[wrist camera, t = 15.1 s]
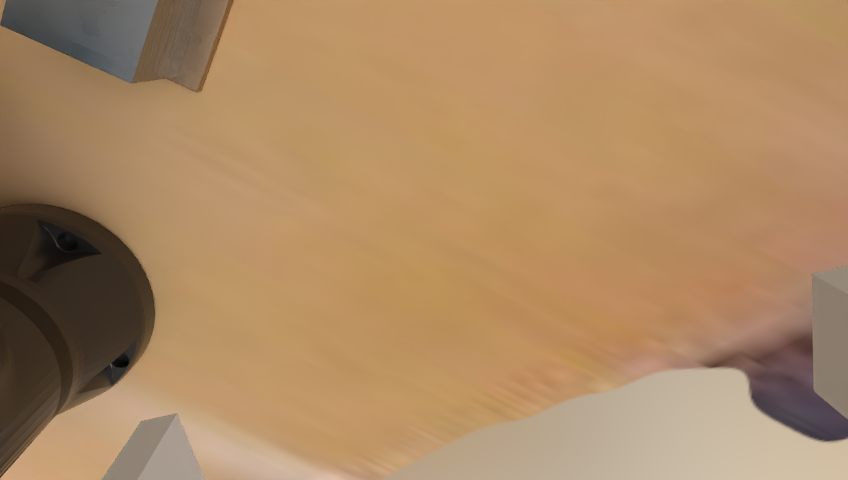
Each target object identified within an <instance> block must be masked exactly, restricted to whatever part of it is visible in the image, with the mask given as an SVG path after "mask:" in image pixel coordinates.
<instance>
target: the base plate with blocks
mask: <svg viewBox="0 0 848 480" xmlns="http://www.w3.org/2000/svg"><path fill="white" fill-rule="evenodd" d="M232 3H233V0H6V3H5V7H4V11H3V15H2V19H1V23H0V25H1V26H3V27H6V28H8V29H10V30H12V31H15V32H17V33H19V34H21V35H24V36H26V37H28V38H30V39H33V40H35V41H37V42H39V43H42V44H44V45H46V46H48V47H51V48H53V49H55V50H57V51H60V52H62V53H64V54H66V55H69V56H71V57H73V58H75V59H77V60H80V61H82V62H84V63H86V64H89V65H91V66H93V67H95V68H98V69H100V70H102V71H104V72H107V73H109V74H111V75H113V76H116V77H118V78H120V79H122V80H125V81H127V82H129V83H131V84H132V83H138V82H145V81H151V80H157V79H164V78H166V79H169V80H171V81H173V82H175V83H178V84H180V85H182V86H184V87H186V88H189V89H191V90H193V91H195V92H199V91H202V88H203V85H204V82H205V79H206V77H207V74H208V71H209V68H210V65H211V62H212V60H213V57H214V54H215V51H216V48H217V45H218V43H219V40H220V37H221V34H222V31H223V29H224V26H225V23H226V20H227V17H228V14H229V12H230V9H231V6H232Z"/></svg>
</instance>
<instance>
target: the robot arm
mask: <svg viewBox="0 0 848 480" xmlns="http://www.w3.org/2000/svg"><path fill="white" fill-rule="evenodd" d="M812 313H813V372H814V391H815V392H816V393H817V394H818V395H819V396H821V397H822V398H823V399H824V400H825V401H826V402H828V403H829V404H830V405H831V406H832V407H834V408H835V409H836V410H837V411H838V412H840V413H841V414H842V415H843V416H844V417H846V418H847V419H848V266H845V267H841V268H836V269H832V270H827V271H822V272H818V273H813V274H812ZM154 317H155V308H154V300H153V295H152V291H151V287H150V284H149V282H148V279H147V277H146V275H145V273H144V271H143V269H142V267H141V265H140V264H139V262H138V261H137V259H136V258H135V256H134V255H133V254H132V253H131V251H130V250H129V249H128V248H127V247H126V246H125V245H124V244H123V243H122V242H121V241H120V240H119V239H118V238H117V237H116V236H115V235H113V234H112V233H111V232H110V231H108V230H107V229H106V228H104V227H103V226H101V225H99V224H98V223H96V222H94V221H93V220H91V219H89V218H87V217H85V216H82V215H80V214H78V213H75V212H72V211H69V210H66V209H62V208H58V207H53V206H47V205H33V204H29V205H16V206H10V207H5V208H2V209H0V478H1V477H2V475H3V474H4V473H5V472H6V471H7V470H8V469H9V467H10V466H11V465H12V464H13V463H14V462H15V461H16V460H17V458H18V457H19V456H20V455H21V454H22V453H23V452H24V451H25V449H26V448H27V447H28V446H29V445H30V444H31V443H32V441H33V440H34V439H35V438H36V437H37V436H38V435H39V434H40V432H41V431H42V430H43V429H44V428H45V427H46V426H47V424H48V423H49V422H50V421H51V420H52V419H53V418H54V417H55V416H56V415H58V414H60V413H63V412H65V411H67V410H69V409H71V408H73V407H75V406H77V405H79V404H81V403H84V402H86V401H88V400H90V399H92V398H94V397H96V396H98V395H100V394H102V393H104V392H105V391H107V390H109V389H110V388H111V387H113V386H114V385H115V384H117V383H118V382H119V381H120V380H121V379H122V378H123V377H124V376H125V375H126V374H127V373H128V372H129V371H130V369H131V368H132V367H133V366H134V364H135V363H136V362H137V361H138V360H139V358H140V357H141V356H142V354H143V353H144V351H145V349H146V347H147V345H148V343H149V341H150V338H151V335H152V331H153V327H154ZM102 480H205V479H204V477H203V474H202V472H201V469H200V467H199V465H198V462H197V460H196V458H195V455H194V453H193V450H192V448H191V446H190V443H189V441H188V438H187V436H186V434H185V431H184V429H183V426H182V424H181V422H180V419H179V417H178V415H177V414H172V415H168V416H163V417H159V418H154V419H149V420H145V421H141V422H140V424H139V425H138V427H137V428H136V430H135V431H134V433H133V434H132V436H131V437H130V439H129V440H128V442H127V443H126V445H125V446H124V448H123V449H122V451H121V452H120V453H119V455H118V456H117V458H116V459H115V461H114V462H113V464H112V465H111V467H110V468H109V470H108V471H107V473H106V474H105V476H104V477H103V479H102Z"/></svg>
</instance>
